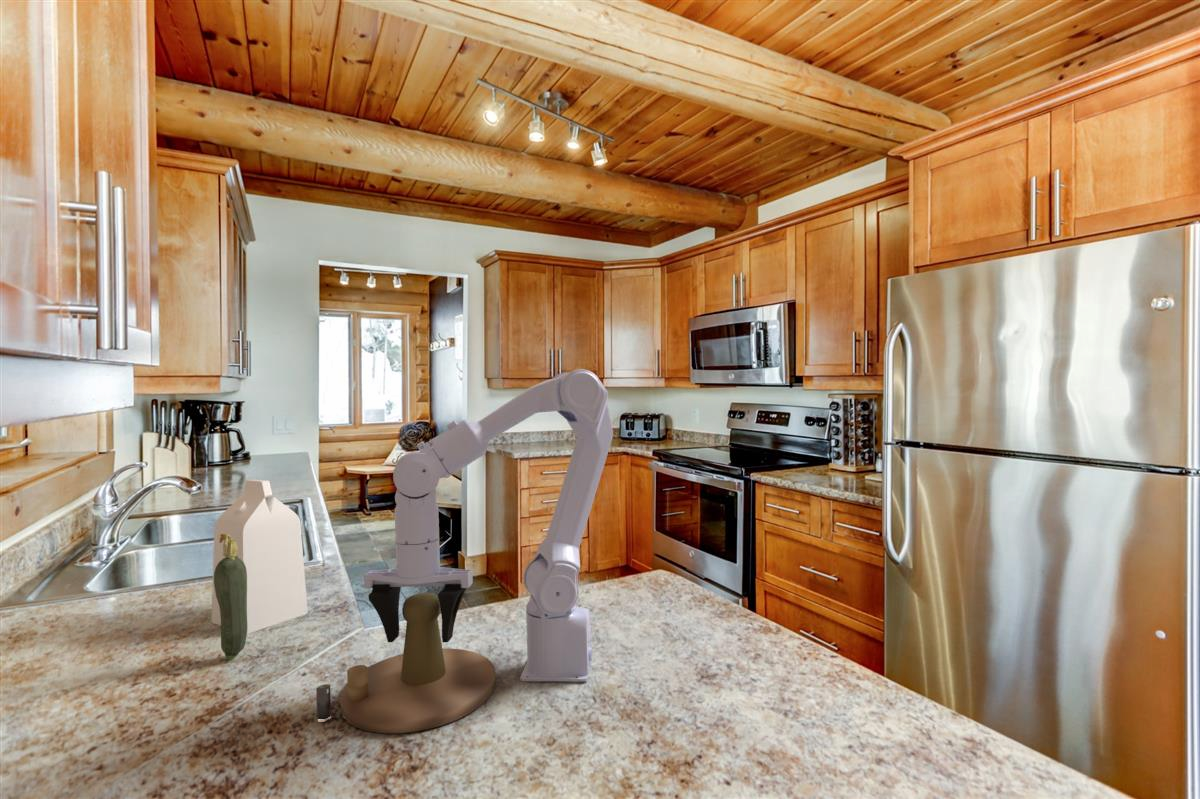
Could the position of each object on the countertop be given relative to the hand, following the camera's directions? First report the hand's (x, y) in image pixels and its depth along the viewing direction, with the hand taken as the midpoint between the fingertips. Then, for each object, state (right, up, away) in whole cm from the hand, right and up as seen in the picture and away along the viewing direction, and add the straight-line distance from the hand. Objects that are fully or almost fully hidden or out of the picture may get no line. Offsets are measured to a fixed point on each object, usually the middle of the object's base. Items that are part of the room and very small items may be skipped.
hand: (420, 639), depth 78 cm
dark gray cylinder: (-2, -7, -1) cm, 8 cm away
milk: (-40, -9, +30) cm, 51 cm away
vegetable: (-33, -8, +11) cm, 36 cm away
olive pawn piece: (0, -6, +2) cm, 6 cm away
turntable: (0, -7, 0) cm, 7 cm away
